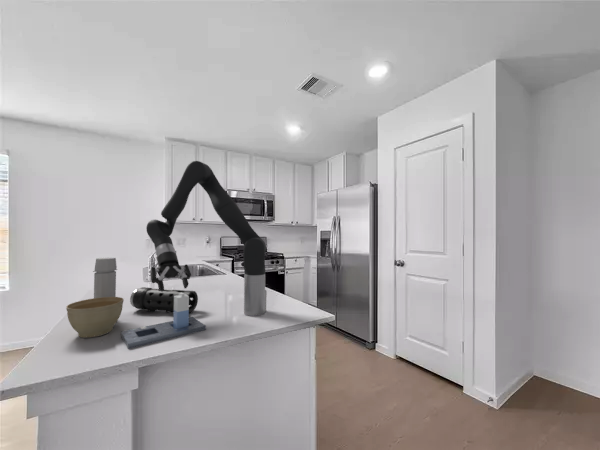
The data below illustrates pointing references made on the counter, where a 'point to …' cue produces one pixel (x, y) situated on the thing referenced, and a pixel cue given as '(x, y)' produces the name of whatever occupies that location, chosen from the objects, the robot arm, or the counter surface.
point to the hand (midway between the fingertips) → (174, 288)
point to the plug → (181, 311)
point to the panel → (159, 333)
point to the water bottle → (105, 277)
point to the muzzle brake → (160, 299)
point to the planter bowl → (94, 315)
